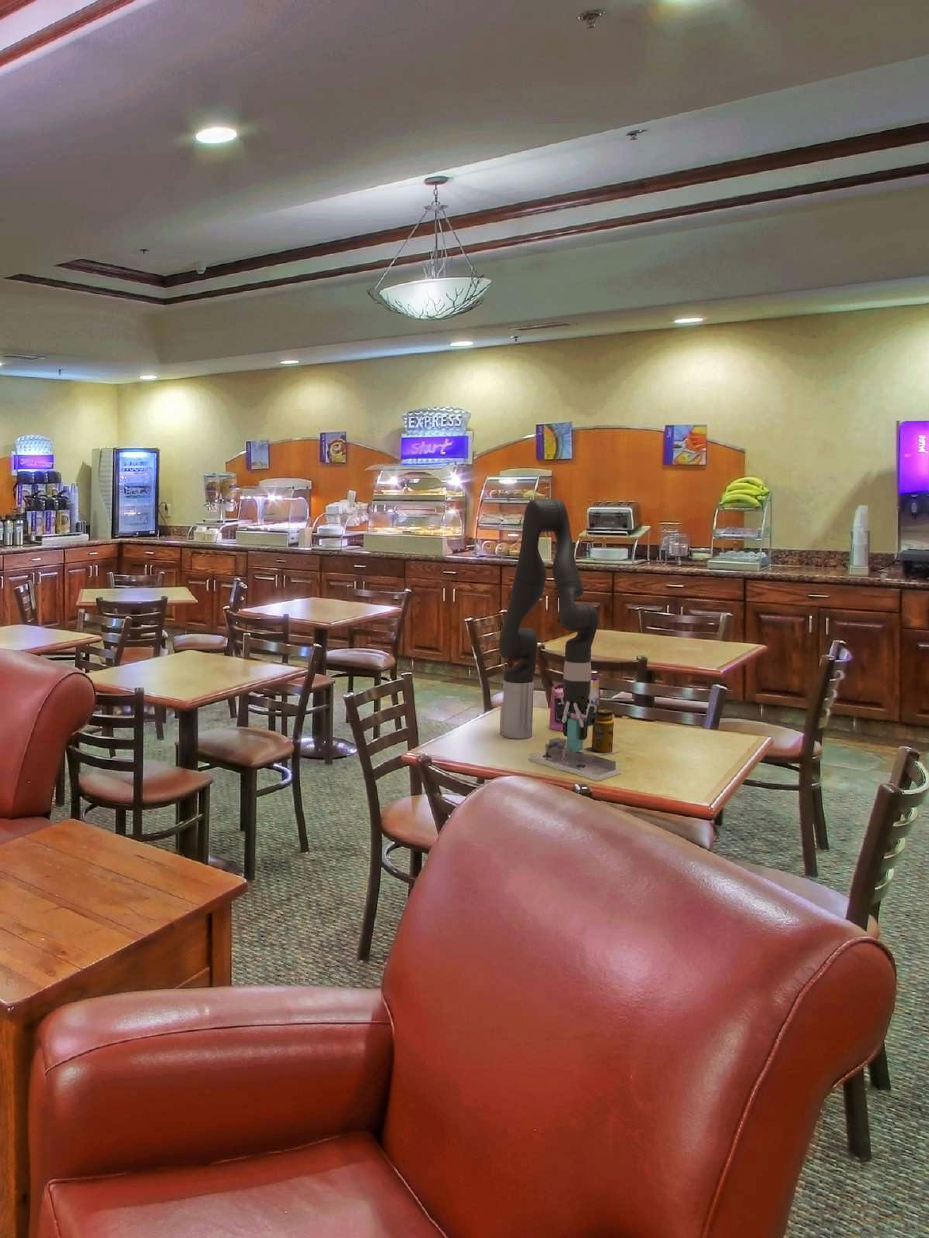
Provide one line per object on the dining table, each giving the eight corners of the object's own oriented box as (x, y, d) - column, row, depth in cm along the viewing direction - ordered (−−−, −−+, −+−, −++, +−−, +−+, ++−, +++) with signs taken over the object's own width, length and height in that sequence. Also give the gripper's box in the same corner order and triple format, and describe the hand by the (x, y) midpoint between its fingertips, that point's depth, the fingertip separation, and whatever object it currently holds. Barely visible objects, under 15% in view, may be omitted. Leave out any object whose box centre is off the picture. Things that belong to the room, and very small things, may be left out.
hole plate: (528, 760, 248) (529, 741, 247) (552, 753, 254) (552, 735, 254) (597, 781, 231) (598, 760, 230) (620, 773, 237) (621, 753, 237)
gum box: (569, 734, 277) (571, 691, 275) (546, 730, 280) (548, 688, 279) (598, 718, 297) (600, 678, 295) (576, 714, 301) (578, 675, 299)
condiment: (618, 751, 258) (620, 711, 256) (596, 756, 253) (598, 715, 252) (601, 745, 264) (603, 706, 262) (580, 749, 259) (581, 709, 258)
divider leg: (558, 758, 243) (559, 720, 242) (573, 754, 248) (575, 716, 246) (567, 761, 241) (568, 722, 239) (582, 756, 246) (583, 718, 244)
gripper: (548, 674, 245) (546, 734, 247) (589, 683, 235) (586, 745, 237) (565, 671, 250) (563, 730, 252) (606, 679, 240) (604, 740, 242)
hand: (574, 737), depth 245 cm, fingers open, 5 cm apart
